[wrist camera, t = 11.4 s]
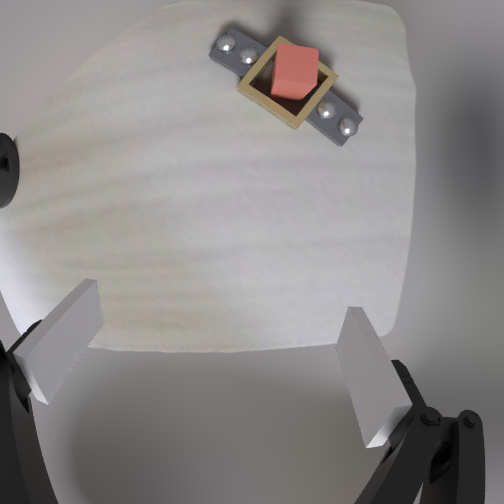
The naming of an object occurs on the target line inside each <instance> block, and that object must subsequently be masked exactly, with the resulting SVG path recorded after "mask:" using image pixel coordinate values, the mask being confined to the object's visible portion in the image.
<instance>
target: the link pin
mask: <svg viewBox="0 0 504 504" xmlns="http://www.w3.org/2000/svg"><path fill="white" fill-rule="evenodd" d="M318 56H319V49H315V48H309V47H303V46H296V45H288V44H279V43H278V45H277V50H276V55H275V60H274V65H273V70H272V80H271V92H270V98H279V99H288V100H296V101H301V100H302V99H303V98H304V97H305V96H306V95H307V94H308V93H309V92H310V91H311V90H312V89H313V88H314V87H315V86H316V85H317V73H318Z"/></svg>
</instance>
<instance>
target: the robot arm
mask: <svg viewBox="0 0 504 504" xmlns="http://www.w3.org/2000/svg"><path fill="white" fill-rule="evenodd" d="M18 179H19V161H18V154H17V150H16V147H15V145H14V143H13V141H12V139H11V138H10V137H9V136H8V135H6V134H4V133H0V209H1V208H3V207H5V206H7V205H8V204H9V203H10V202H11V201H12V199H13V197H14V195H15V192H16V189H17V185H18ZM104 323H105V322H104V318H103V313H102V307H101V302H100V296H99V290H98V284H97V280H91V279H85V280H83V281H82V282H81V283H80V284H79V285H78V286H77V287H76V288H75V289H74V290H73V291H72V292H71V293H70V294H69V295H68V296H67V297H66V298H64V299H63V300H62V301H61V302H60V303H59V304H58V305H57V306H56V307H55V308H54V309H53V310H52V311H51V312H50V313H49V314H48V315H47V316H46V317H45V318H44V319H43V320H39V321H37V322H36V323H34V324H32V325H31V326H30V327H29V328H28V329H27V332H25V333H24V334H23V335H22V337H20V338H19V339H18V340H17V341H16V342H15V343H14V344H13V346H12V347H11V348H10V349H9V350H8V351H7V352H6V351H5V349H4V346H3V344H2V342H1V340H0V504H58V501H57V499H56V496H55V494H54V491H53V488H52V485H51V482H50V479H49V476H48V473H47V470H46V467H45V463H44V460H43V456H42V453H41V449H40V445H39V440H38V436H37V431H36V427H35V422H34V416H33V411H32V405H31V399H30V397H29V393H30V392H31V390H32V392H33V394H34V396H35V397H36V399H37V400H39V401H42V402H44V403H46V404H50V402H51V400H52V399H53V397H54V396H55V394H56V393H57V391H58V389H59V388H60V386H61V385H62V383H63V382H64V380H65V379H66V377H67V376H68V374H69V373H70V371H71V369H72V368H73V367H74V365H75V364H76V362H77V361H78V359H79V358H80V356H81V355H82V353H83V352H84V351H85V349H86V348H87V346H88V345H89V343H90V342H91V341H92V339H93V338H94V336H95V335H96V334H97V332H98V331H99V330H100V328H101V327H102V325H103V324H104ZM335 349H336V352H337V355H338V358H339V361H340V364H341V367H342V370H343V373H344V376H345V379H346V383H347V386H348V389H349V393H350V396H351V399H352V402H353V406H354V409H355V412H356V416H357V419H358V422H359V426H360V429H361V433H362V436H363V440H364V444H365V447H366V448H370V447H376V446H382V445H383V444H384V442H385V441H386V440H387V439H388V438H389V441H390V444H391V445H390V446H389V447H388V449H387V450H386V451H385V452H384V453H383V454H382V456H381V458H382V460H381V461H380V463H379V465H378V467H377V468H376V470H375V472H374V473H373V475H372V477H371V479H370V480H369V482H368V483H367V485H366V486H365V488H364V489H363V491H362V493H361V494H360V496H359V497H358V498H357V500H356V501H355V503H354V504H413V503H414V501H415V499H416V496H417V494H418V492H419V490H420V488H421V485H422V483H423V486H422V492H421V498H420V503H419V504H484V501H485V450H484V436H483V427H482V421H481V418H480V417H479V415H478V414H477V413H475V412H474V411H471V410H464V411H463V412H461V413H460V414H459V416H458V417H457V418H451V417H442V415H441V414H440V413H439V412H438V411H437V410H436V409H434V408H432V407H427V406H426V404H425V402H424V400H423V398H422V396H421V394H420V392H419V391H418V388H417V386H416V385H415V383H414V381H413V379H412V377H410V373H409V371H408V370H407V368H406V366H404V365H403V364H402V363H401V362H400V361H399V360H390V358H389V356H388V354H387V353H386V350H385V349H384V347H383V345H382V343H381V341H380V339H379V337H378V336H377V334H376V332H375V330H374V328H373V326H372V325H371V323H370V321H369V319H368V317H367V316H366V314H365V312H364V310H363V308H362V307H348V310H347V313H346V316H345V320H344V323H343V326H342V329H341V332H340V336H339V339H338V342H337V345H336V348H335Z"/></svg>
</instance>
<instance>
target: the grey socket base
mask: <svg viewBox="0 0 504 504" xmlns="http://www.w3.org/2000/svg"><path fill="white" fill-rule="evenodd" d="M278 43H279V44H288V45H295V44H293V43H291V42H290V41H288V40H287V39H285V38H283V37H282V36H279V37H278V38H277V39H276V40H275V41H274V42H273V43H272V44H271V46H270V47H269V48H267V47H265V46H264V45H262V44H260V43H258V42H257V41H255V40H253V39H251V38H250V37H248V36H246V35H244V34H242V33H240V32H239V31H237V30H235V29H233V28H231V29H230V30H229V31H228V32H227V34H226V35H222V36H220V37H219V38H218V39H217V41H216V46H215V48H214V49H213V50H212V51H211V52H210V54H209V57H210V58H211V59H212V60H214V61H215V62H217V63H219V64H221V65H222V66H224V67H226V68H228V69H229V70H231V71H233V72H234V73H236V74H238V75H239V76H241V77H243V79H242V80H241V82H240V83H239V84H238V85H237V89H238V92H240V93H241V94H243V95H245V96H246V97H248V98H249V99H251V100H252V101H254V102H255V103H257V104H258V105H260V106H261V107H263V108H264V109H266V110H267V111H269V112H270V113H272V114H273V115H275V116H276V117H278V118H279V119H280V120H282V121H283V122H285V123H286V124H287V125H289V126H290V127H291V128H293V129H294V130H295V129H297V128H299V126H300V125H301V124H302V122H303V121H304V120H306V121H307V122H309V123H310V124H311V125H313V126H314V127H315V128H317V129H318V130H319V131H320V132H322V133H323V134H324V135H325V136H327V137H328V138H329V139H330V140H332V141H333V142H334V143H335V144H336V145H338V146H343V145H344V143H345V142H346V141H347V139H348V138H349V137H350V136H352V135H354V134H356V132H357V130H358V125H359V124H360V122H361V121H362V120H363V117H361V116H360V115H359V114H358V113H357V112H356V111H354V110H353V109H352V108H351V107H350V106H348V105H347V104H346V103H345V102H344V101H342V100H341V99H340V98H339V97H337V96H336V95H335V94H334V93H332V92H331V91H330V90H328V89H329V88H330V87H331V86H332V85H333V83H334V82H335V81H336V80H337V78H338V77H339V76H338V75H337V74H336V73H335V72H333V71H332V70H331V69H329V68H328V67H327V66H325V65H324V64H322V63H321V62H320V61H318V73H317V78H318V79H319V80H320V81H322V83H321V84H320V86H319V87H318V88H317V89H316V91H315V92H314V93H313V94H312V96H311V97H310V98H309V99H308V101H307V102H306V103H305V104H304V106H303V107H302V108H301V109H300V111H299V112H298V113H297V115H296V116H294V115H293V114H291V113H290V112H289V111H287V110H286V109H284V108H283V107H282V106H280V105H279V104H277V103H276V102H274V101H273V100H271V99H270V98H268V97H267V96H265V95H264V94H262V93H261V92H259V91H258V90H256V89H255V88H253V87H252V86H253V84H254V83H255V82H256V81H257V79H258V78H259V77H260V76H261V75H262V73H263V72H264V71H265V70H266V68H267V67H268V66H269V65H270V64H271V62H272V61H273V60H274V59H275V55H276V50H277V45H278Z"/></svg>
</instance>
